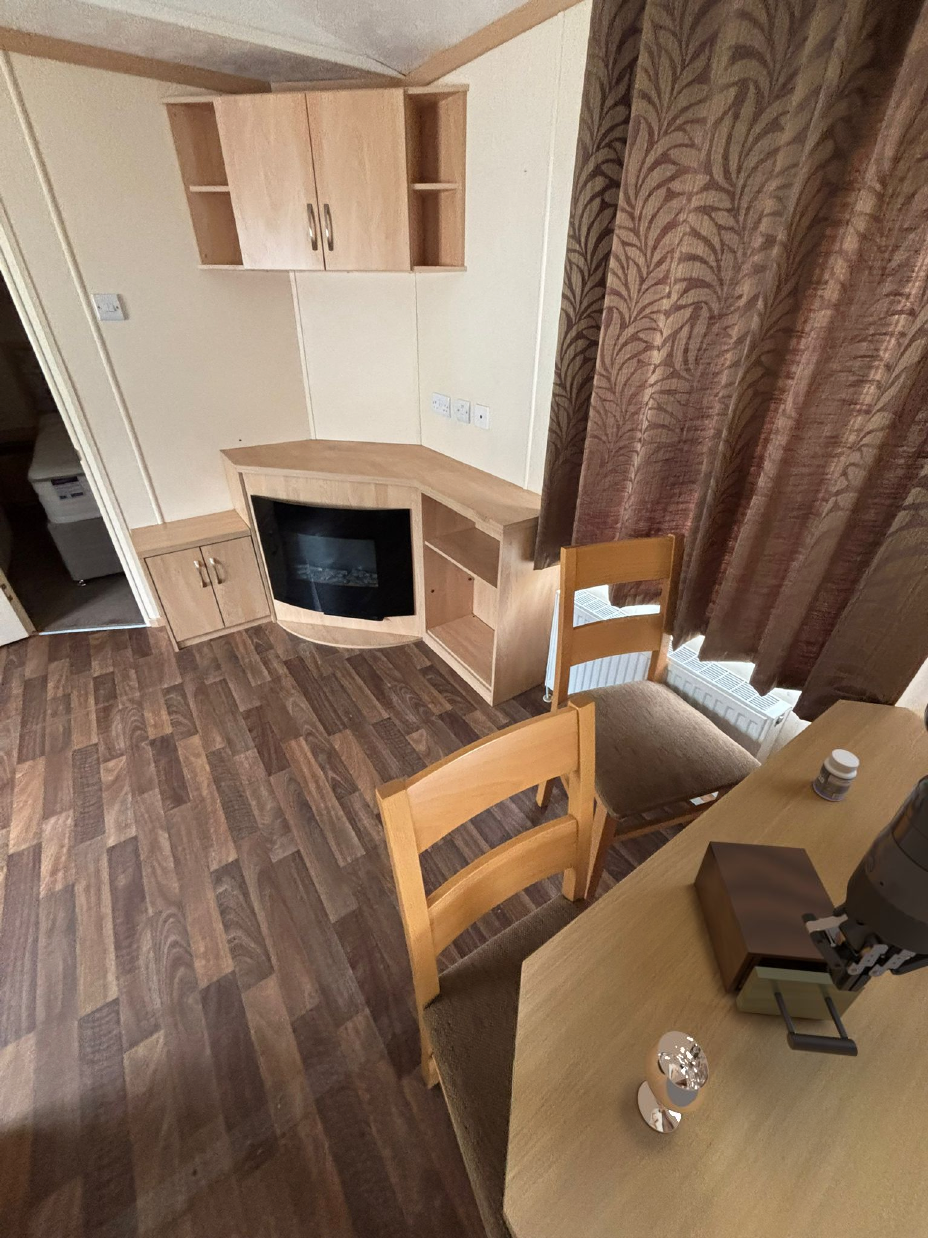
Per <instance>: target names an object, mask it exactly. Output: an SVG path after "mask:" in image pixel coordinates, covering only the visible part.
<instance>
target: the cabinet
mask: <svg viewBox="0 0 928 1238" xmlns="http://www.w3.org/2000/svg"><path fill="white" fill-rule="evenodd" d="M693 887H694V889H695V893H696V896H697V900H698V903H699V907H700V909H701V913H702V917H703V921H704V923H705V927H706V930H707V934H708V937H709V940H710V944H711V947H712V950H713V951H712V952H713V954H714V958H715V961H716V964H717V965H716V966H717V968H718V971H719V974H720V975H719V976H720V978H721V981H722V984H723V985H722V986H723V988H724V992H725V994H727V995H728V994H729V995H737V996H738V995H739V993H740V991H741V990H742V988H740V987H738V983H739V981H740V979H741V977H742V976H743V974H744V972H745V970H746V968H747V966H748V965H749V963H750V961H751V959H752V957H753V956H758V957H769V958H780V959H790V960H801V961H812V962H822V963H827V961H826V960H825V959H824V957H823V956H822V955H821V953H820V952H819V951H818V949H817V948H816V947H815V945H814V944H813V942H812V940H811V937H810V935H809V933H808V931H807V929H806V926H805V924H804V922H803V920H802V917H801V916H802V915H803V914H805V913H813V914H815V916H816V917H817V919H820V918H822V919H824V918H829V917H833V910H834V909H835V908H836V907H835V905H834V903H833V901H832V899H831V896H830V895H829V893H828V892H827V889H826V888H825V885H824V883H823V881H822V879H821V877H820V875H819V873H818V872H817V870H816V868H815V866H814V864H813V862H812V860H811V858H810V856H809V854H808V853H807V850H806V848H804V847H793V846H778V845H767V844H766V845H765V844H753V843H741V842H726V841H715V840H709V843H708V845H707V846H706V850H705V852H704V854H703V857H702V860H701V863H700V866H699V868H698V870H697V874H696V876H695V879H694V881H693ZM839 938H840V932H838V933H837V934H836V938H835V939H834V942H835V944H836V943H837V942H838V940H839Z"/></svg>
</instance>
